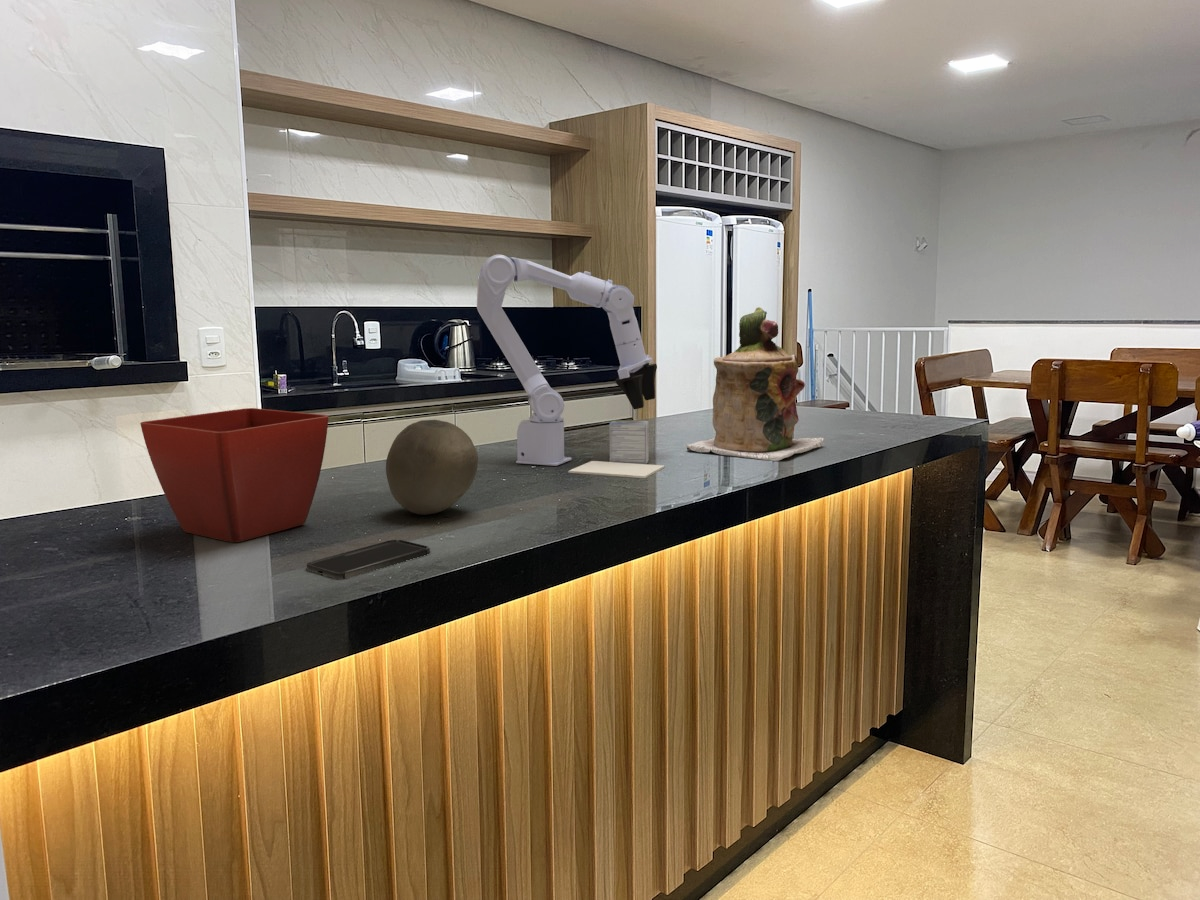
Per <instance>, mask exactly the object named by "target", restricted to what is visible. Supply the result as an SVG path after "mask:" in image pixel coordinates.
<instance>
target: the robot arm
mask: <svg viewBox="0 0 1200 900" xmlns="http://www.w3.org/2000/svg"><path fill="white" fill-rule="evenodd" d="M522 281H533V282H535V283H536V282H537V283H539V284H543V285H546V286H550V287H553V288H556V289H560V290H564V291H566V293H567V295H568V296H569V299H570V300H572V301H577V302H579V303H583V304H585V305H589V306H592V307H594V308H602V309H603V310H604V311H605V312H606V314H607V316H608V320H609V327H610V328H609V329H610V331H611V334H612V335H611V336H612V338H613V342H614V345H615V350H616V354H617V357H618V360H619V364H620V365H619V367H618V368H619V369H618V370H617V373H618V377H617V378H616V379H615V384H616V385H617V386H618V387H619V389H621V390H622V392H623V394H624V395H625V396H626V398H627V399H628V401H629V404H630V405H631V407H632V408H633V410H638V409H644V406H645V403H644V400H645V401H650V400H654V399H655V398H656V373H657V369H658V365H657V363H652V362H653V361H654V359H653V357H651V356H650V354H646V351H645V347H644V343H643V339H642V335H641V331H640V327H639V326H640V325H639V322H638V320H637V317H636V314H635V310H634V303H635V295H634V294H632V291H631V290H630V288H628V287H627V286H625V285H622V284H621V285H620V284H613V280H612V279H607V280H605V279H601V278H598V277H596V276H592V272H589V271H588V270H587V271H586V270H584V271H583V272H580V271H578V272H576V273H574V274H573V275H568V274H566V273H563V272H561V271H559V270H558V271H557V270H556V269H553V268H550V267H547V266H544V265H541V264H538V263H536V262H533V261H532V260H531V261H530V260H527V259H523V258H518V257H508V256H506V255H505V254H504V255H503V254H494V255H491V256H489V258H488V259H486V260H485V261H484V262H483V263H482V266H481V268H480V271H479V274H478V276H477V292H476V309H477V312H478V313H479V315H480V317H481V319H482V320H483V322H484V324H485V325H486V327H487V329H488V330H489V331H490V334H491V335H492V337H493V339H494V340H495V342H496V344H497V345H498V346H499V348H500V350H501V352H502V353H503V355H504V356H505V358H506V360H507V361H508V364H510V366H511V368H512V370H513V371H514V373H515V375H516V376H517V378H518V380H519V381H520V383H521V385H522V387H523V389H524V391H525V392H526V394H527V397H528V403H529V408H530V410H531V411H532V412H533V413H532V414H531V415H530V416H529V417H528V419H523V420H521V421H520V422H519V424H518V426H517V431H516V442H517V443H516V444H517V445H516V446H517V447H516V448H517V452H516V453H517V454H516V455H517V460H515V463H516V464H525V465H538V466H539V465H540V466H554V467H557V466H559V465H562V464H565V463H566V462H569V461H572V459H573V458H572V457H570V456H569V457H567V456H565V418H564V417H563V416H562V414H563V412H564V410H565V402H564V399H563V397H562V395H561V394H560V393H559V392H557V391H556V390H554V389H553V388H552V387H551V386H550V384H549V383H548V380H546V378H545V377H544V376H543V374H542V372H541V371H540V369H539V367H538V366H537V364H536V363H535V361H534V358H533V357H532V356H531V354H530V353H529V351H528V349H527V347H526V345H525V344H524V342H523V341H522V339H521V337H520V335H519V333H518V332H517V331H516V329H515V327H514V326H513V324H512V322H511V320H510V319H509V317H508V316H507V314H506V311H504V309H503V302H504V299H505V295H506V291H507V289H508V288H509V287H510V285H511V283H512V282H514V283H516V282H517V283H518V282H522Z"/></svg>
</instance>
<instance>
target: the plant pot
mask: <svg viewBox="0 0 1200 900" xmlns="http://www.w3.org/2000/svg"><path fill="white" fill-rule="evenodd" d="M140 427H141V432H142V436H143V440H144V444H145V446H146V450H147V453H148V456H149V459H150V461H151V464H152V466H153V467H152V468H153V469H154V471H155V475H156V477H157V479H158V483H159V484H160V487H161V489H162V490H163V493H164V495H165V498H166V500H167V502H168V505H170V508H171V510H172V511H173V514H174V516H175V518H176V519H177V521H178V523H179V525H180V526H181V528H182V531H183V532H185V533H188V534H192V535H197V536H202V537H206V538H209V539H216V540H219V541H224V542H230V543H241V542H245V541H249V540H252V539H256V538H260V537H262V536H266V535H270V534H273V533H277V532H281V531H285V530H289V529H292V528H295V527H299V526H303V525H305V524H306V521H307V519H308V515H309V513H310V510H311V507H312V504H313V500H314V497H315V494H316V491H317V486H318V483H319V481H320V475H321V472H322V471H321V469H322V465H323V460H324V456H325V448H326V444H327V443H326V442H327V434H328V427H329V415H327V414H320V413H319V414H317V413H307V412H299V411H288V410H287V411H286V410H277V409H265V408H258V407H256V408H255V407H252V408H251V407H249V408H248V407H245V408H241V409H239V408H238V409H231V410H223V411H216V412H207V413H200V414H192V415H184V416H183V415H182V416H177V417H176V416H175V417H169V418H168V417H167V418H162V419H155V420H154V419H153V420H147V421H146V420H145V421H141V422H140Z"/></svg>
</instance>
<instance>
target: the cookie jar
mask: <svg viewBox="0 0 1200 900" xmlns="http://www.w3.org/2000/svg"><path fill="white" fill-rule="evenodd" d="M767 314H768V313H767V311H765V310H764V309H763V308H762V307H760V306H758V307H756V308H755V310H754V312H751V313H747V314H745V315H742V316H741V317H740V319H739V329H738V330H739V332H738V337H739V347H738V348H737V349H735V350H734V351H733V352H731V353H728V354H727V355H726V356H720V357H719V356H718V357H714V359H713V365H714V368H715V369H716V376H715V388H714V392H713V397H712V427H713V429H714V431H715V436H714V437H713V438H710V439H706V440H699V441H696V442H691V443H689V444H685V448H686V452H690V451H693V452H697V453H713V454H717V455H721V456H729V457H739V458H747V459H755V460H763V461H769V460H772V461H771V462H779V461H781V460H783V459H786V458H789V457H792V456H793V455H795V454H802V453H804V452H808V451H811V450H813V449H817V448H821V447H823V445H824V440H825V438H824V437H805V438H804V437H803V438H793V435H794V431H795V426H796V425H797V423H799V421H800V419H799V415H798V411H797V409H798V408H797V404H796V397H797V396H798V395H799V394H800V392H802V391H803V390H804V389H805V386H806V384H805V382H804V381H803V380H802V379H799V378H798V379H797V375H798V373H799V364H798V362H799V361H798V357H797V355H796V354H790V355H789V354H788V353H787V352H786V351H785V350H784V348H782V347H780V346H778V345H777V344H776V342H774V341H773V339H774V338H776V337H778V334H779V324H778V323H777V322H776V321H773V320H769V319H767Z"/></svg>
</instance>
